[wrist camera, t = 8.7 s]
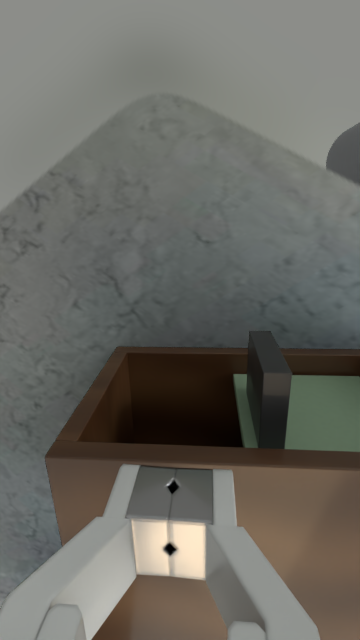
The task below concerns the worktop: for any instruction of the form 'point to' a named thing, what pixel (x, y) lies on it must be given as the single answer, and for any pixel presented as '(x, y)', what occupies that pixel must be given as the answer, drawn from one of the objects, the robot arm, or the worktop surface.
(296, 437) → the sliding door
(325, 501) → the brown wooden box
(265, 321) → the worktop surface
